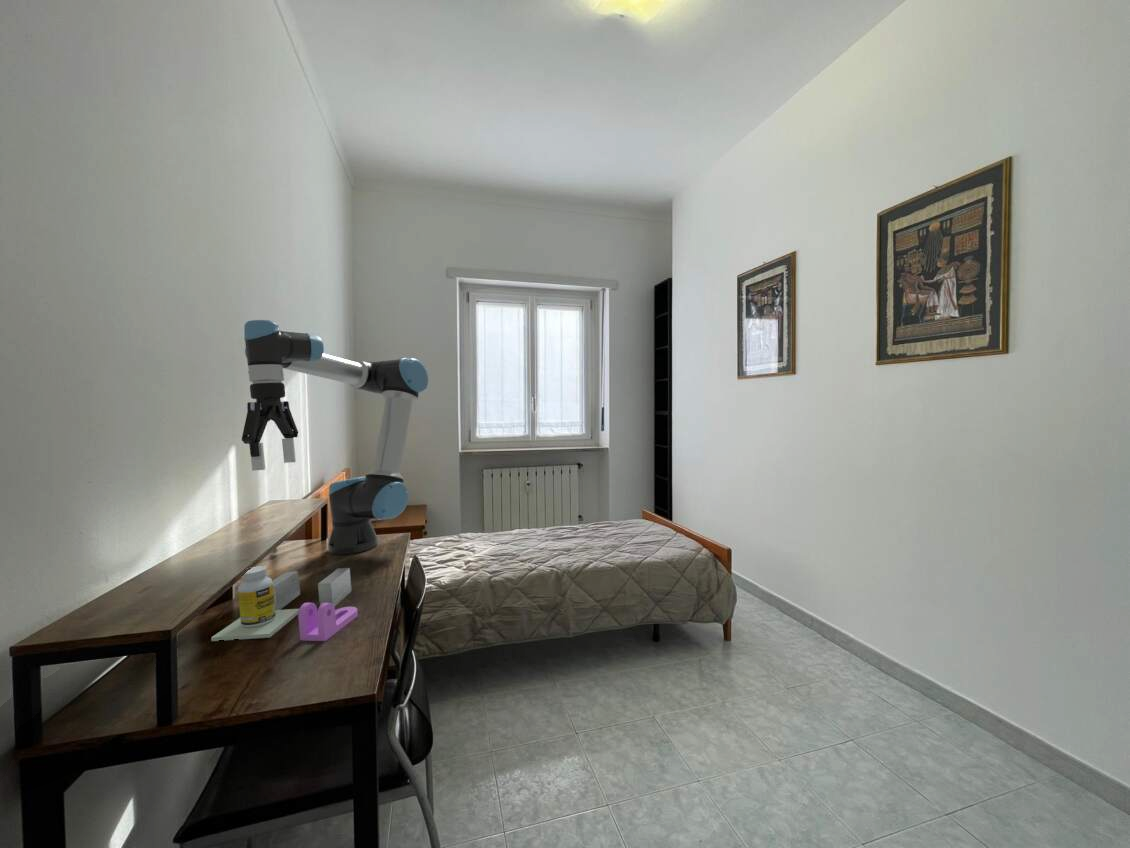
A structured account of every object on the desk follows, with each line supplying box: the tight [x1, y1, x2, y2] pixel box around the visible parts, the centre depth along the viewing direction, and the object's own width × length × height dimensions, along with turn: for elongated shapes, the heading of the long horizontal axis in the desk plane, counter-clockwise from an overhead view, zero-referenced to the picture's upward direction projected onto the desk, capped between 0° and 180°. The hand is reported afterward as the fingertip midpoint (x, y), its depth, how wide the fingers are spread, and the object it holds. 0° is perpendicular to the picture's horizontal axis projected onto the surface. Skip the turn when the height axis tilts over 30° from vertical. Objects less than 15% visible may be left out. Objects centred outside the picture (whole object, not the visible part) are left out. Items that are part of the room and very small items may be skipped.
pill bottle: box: [237, 565, 276, 627], centre depth 106 cm, size 6×6×12 cm
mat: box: [210, 608, 300, 642], centre depth 107 cm, size 12×12×1 cm
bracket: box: [297, 602, 359, 642], centre depth 104 cm, size 13×6×7 cm, turn 170°
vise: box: [272, 567, 353, 610], centre depth 118 cm, size 10×21×6 cm, turn 90°
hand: (275, 466), depth 125 cm, fingers open, 13 cm apart
